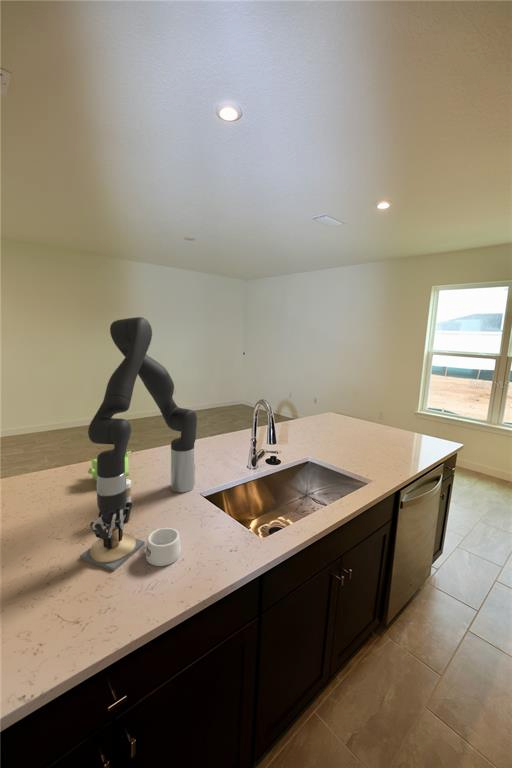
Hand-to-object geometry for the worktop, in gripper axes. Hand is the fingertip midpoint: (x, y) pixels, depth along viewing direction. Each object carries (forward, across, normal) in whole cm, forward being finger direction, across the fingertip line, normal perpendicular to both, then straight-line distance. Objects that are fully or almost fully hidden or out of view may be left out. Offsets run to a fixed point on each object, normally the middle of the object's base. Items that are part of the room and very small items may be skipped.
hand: (113, 543), depth 91 cm
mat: (+2, 0, 0) cm, 2 cm away
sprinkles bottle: (+3, -14, -9) cm, 17 cm away
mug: (+3, -5, +13) cm, 14 cm away
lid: (+1, 0, 0) cm, 1 cm away
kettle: (+3, -34, -34) cm, 48 cm away
